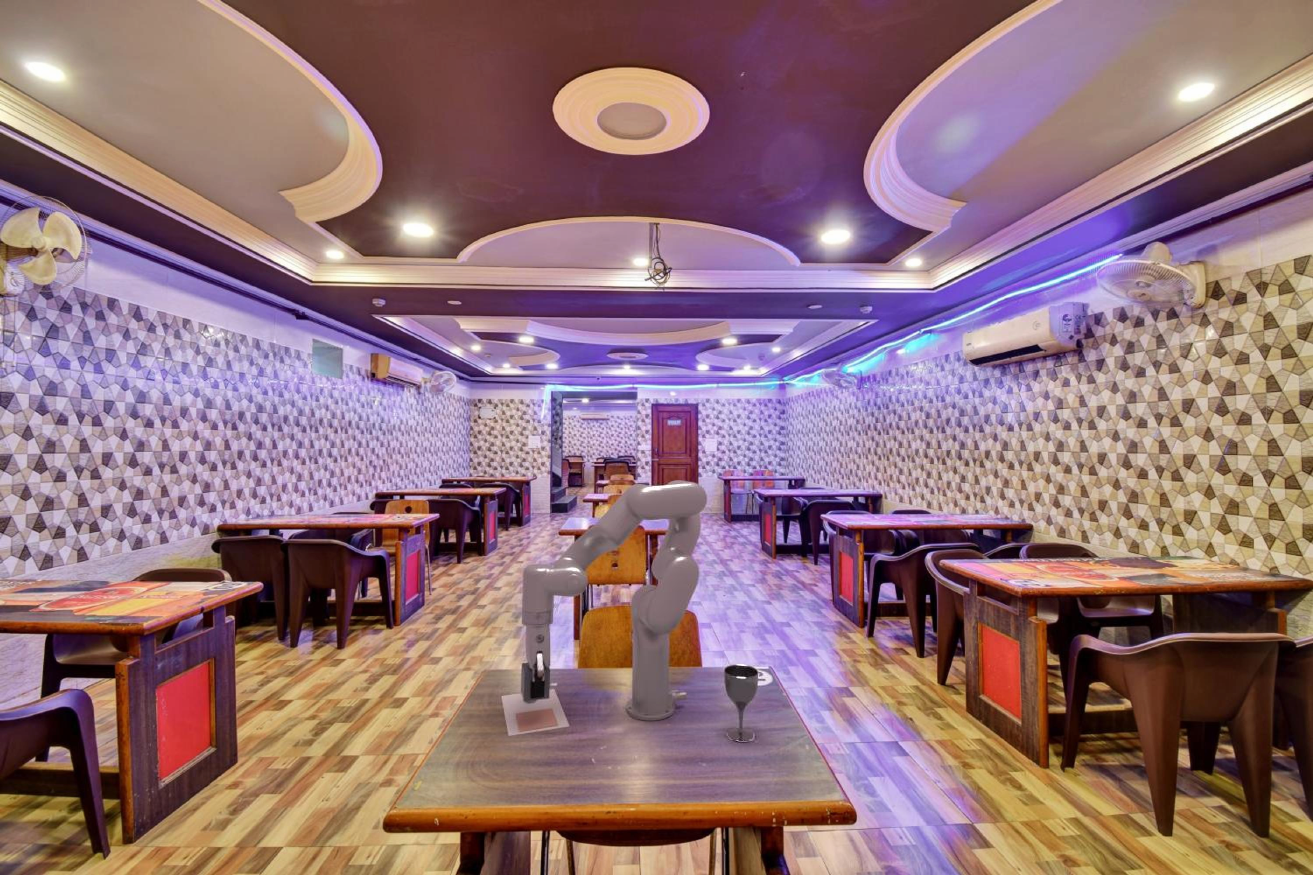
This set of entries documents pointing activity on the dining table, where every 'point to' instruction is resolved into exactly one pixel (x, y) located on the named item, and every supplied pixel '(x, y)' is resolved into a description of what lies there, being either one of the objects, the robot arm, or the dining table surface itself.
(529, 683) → the dark grey block
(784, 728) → the dining table surface
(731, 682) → the wine glass
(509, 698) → the board
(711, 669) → the dining table surface
